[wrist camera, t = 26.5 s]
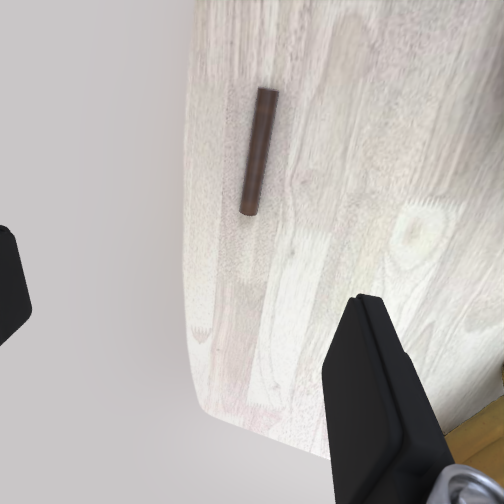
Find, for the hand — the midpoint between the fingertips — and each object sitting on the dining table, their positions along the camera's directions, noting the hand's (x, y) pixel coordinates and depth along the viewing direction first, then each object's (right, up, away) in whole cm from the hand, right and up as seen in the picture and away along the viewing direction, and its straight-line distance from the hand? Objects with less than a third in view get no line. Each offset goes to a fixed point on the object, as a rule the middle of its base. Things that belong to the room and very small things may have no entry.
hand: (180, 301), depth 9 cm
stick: (+2, +10, +18) cm, 20 cm away
